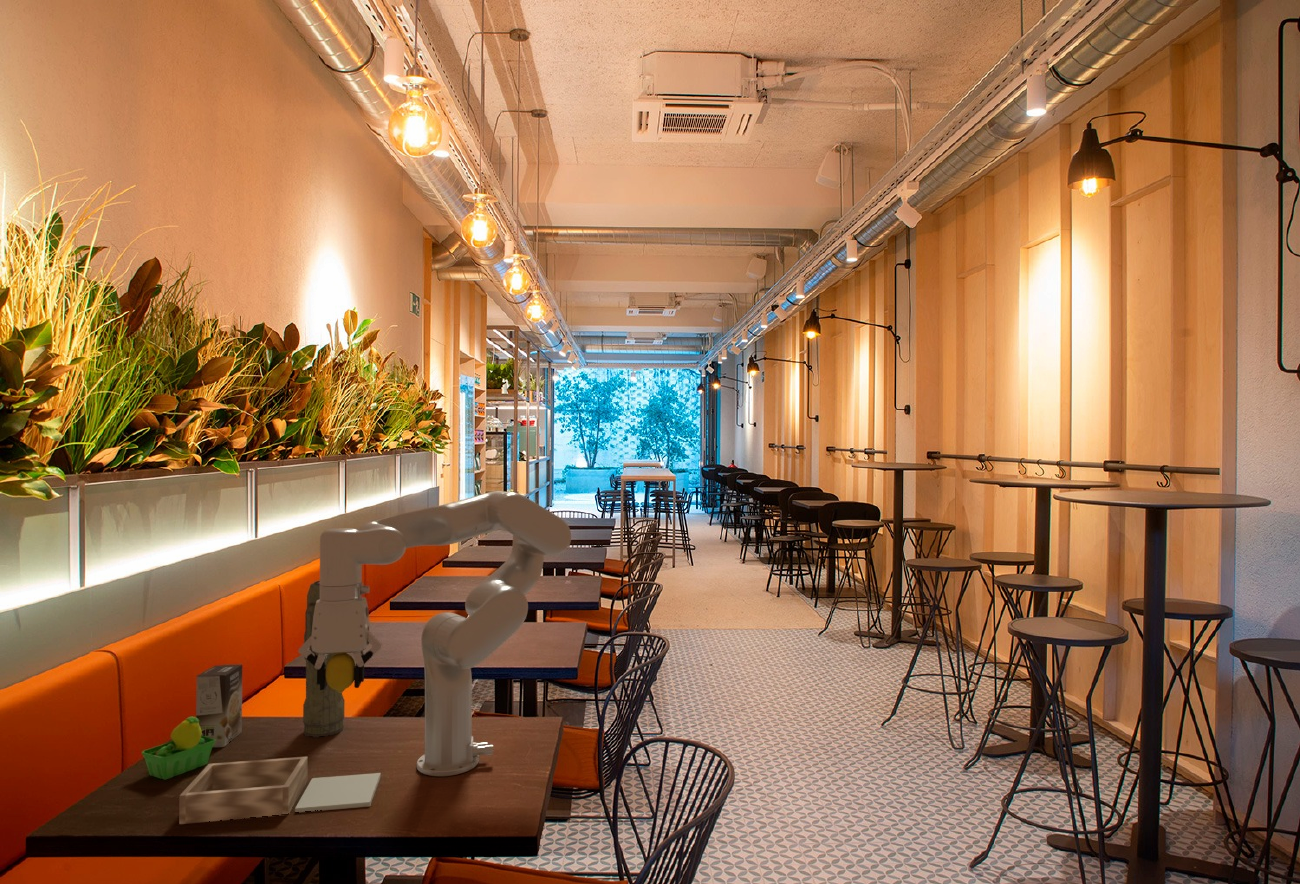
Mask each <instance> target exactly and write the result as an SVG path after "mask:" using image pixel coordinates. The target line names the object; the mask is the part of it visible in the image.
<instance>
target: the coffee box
mask: <svg viewBox="0 0 1300 884" xmlns="http://www.w3.org/2000/svg"><path fill="white" fill-rule="evenodd" d="M195 695H196V700H195V701H196V704H195V705H196V706H195V707H196V708H195V709H196V710H195V713H196V714H195V717H196V718H198V720H199V726H200V728H201V731H202V736H206V737H210V738H212V739H215V742H214V745H213V747H212V748H224V747H226V746H227V745H228V744H230V743H231V742H232V741H234V740H235V739H236V738H237V737H238V736H239V735H240V734H242V733H243V732H242V731H243V730H242V728H243V725H242V723H243V720H242V718H243V664H223V665H222V664H221V665H218V664H217V665H214V666H212V667H210V668H208V669H206V670H205V671H203V672H201V673H199V674H198V675H196V694H195ZM230 741H231V742H230ZM229 742H230V743H229Z"/></svg>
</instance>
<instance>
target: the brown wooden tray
mask: <svg viewBox="0 0 1300 884" xmlns="http://www.w3.org/2000/svg"><path fill="white" fill-rule="evenodd" d="M308 760H309V758H308V756H296V757H283V758H282V757H281V758H270V759H269V758H268V759H267V758H266V759H255V760H243V761H231V762H230V761H228V762H217V763H216V762H215V763H207V764H206V765H205V768H204V769H203V770H201V772H200V773H199V774H198V775H197V776H196V777H195V778H194V779H193V780H192V781H191V782H190V784H189V785H187V787H186V788H185V789H184V790H183V791H182V792H181V793H180V794H179V804H178V809H179V811H178V812H179V813H178V814H179V815H178V816H179V817H178V822H179V824H178V825H185V824H196V823H197V824H198V823H206V822H207V823H208V822H209V821H210V822H220V820H222V821H230V819H233V820H243V819H244V818H245V819H251V818H250V817H256V818H263V817H262V816H268V817H273V816H272V815H279V816H282V815H281V814H288V813H289V814H290V812H291V811H292V810H293V808H292V807H294V806H295V804H296V803H297V801H298V799H299V798H300V796H301V794H302V792H303V790H304V789H305V786H306V785H307V783H308V767H309V765H308Z"/></svg>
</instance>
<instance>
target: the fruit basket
mask: <svg viewBox="0 0 1300 884" xmlns="http://www.w3.org/2000/svg"><path fill="white" fill-rule="evenodd" d="M170 739H171V741H167V742H165V743H163V744H160V745H157V746H153V747H151V748H150V747H149V748H148V749H144V750H143V751H141V755H142V756H143V758H144V761H145V764H146V767H147V770H148V774H149V775H150V776H151V777H155V778H157V779H162V780H165V781H166V780H169V779H172V778H173V777H176V776H179V775H182V774H185V773H186V772H190V771H193V770H195V769H197V768H200V767H204V766H207V765H208V764H209V763H208V762H209V759H210V756H211V752H212V749H213V748H214V747H213V745H214V742H215V739H212V738H210V737H206V736H202V731H201V728H200V726H199V720H198V718H196V716H189V717H187V718H185V720H183V721H181V722H180V723H179V724H178V725H177V726H176V727H175V728H173V729H172V731H171V734H170Z"/></svg>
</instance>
